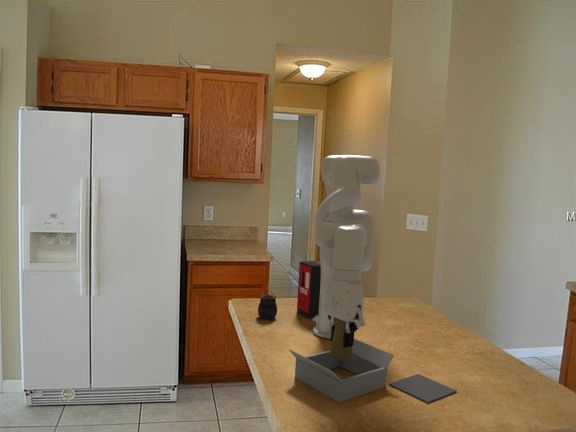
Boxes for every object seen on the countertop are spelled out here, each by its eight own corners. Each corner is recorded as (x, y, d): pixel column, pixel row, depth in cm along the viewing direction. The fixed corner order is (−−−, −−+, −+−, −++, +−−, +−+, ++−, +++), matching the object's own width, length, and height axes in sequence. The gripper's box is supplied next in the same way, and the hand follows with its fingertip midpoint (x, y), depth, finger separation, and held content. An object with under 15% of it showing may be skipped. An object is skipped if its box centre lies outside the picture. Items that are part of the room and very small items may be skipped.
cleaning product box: (309, 319, 181) (312, 266, 179) (296, 312, 188) (299, 261, 187) (344, 314, 189) (348, 264, 187) (331, 308, 197) (334, 259, 195)
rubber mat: (389, 384, 126) (389, 383, 126) (417, 375, 133) (418, 373, 133) (427, 403, 116) (428, 401, 116) (456, 392, 124) (456, 390, 124)
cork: (327, 350, 129) (330, 310, 128) (350, 351, 130) (352, 311, 128) (331, 359, 123) (334, 317, 122) (355, 360, 124) (358, 318, 122)
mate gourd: (275, 315, 183) (277, 289, 182) (278, 321, 176) (279, 294, 175) (256, 314, 182) (258, 288, 181) (258, 321, 175) (259, 293, 174)
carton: (287, 379, 126) (288, 349, 125) (346, 363, 139) (348, 336, 139) (330, 405, 113) (332, 372, 112) (392, 384, 126) (394, 354, 125)
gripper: (314, 269, 128) (310, 336, 130) (360, 283, 115) (354, 357, 117) (335, 266, 133) (330, 331, 135) (381, 280, 120) (376, 351, 122)
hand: (342, 343), depth 126 cm, fingers closed on cork, 3 cm apart
